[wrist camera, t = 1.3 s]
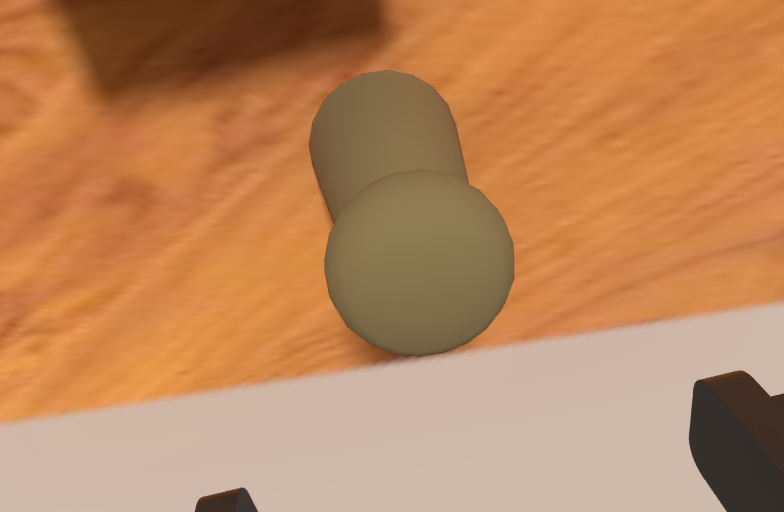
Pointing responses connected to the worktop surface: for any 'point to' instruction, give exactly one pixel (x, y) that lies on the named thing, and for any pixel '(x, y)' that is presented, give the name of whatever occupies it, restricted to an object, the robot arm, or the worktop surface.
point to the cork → (406, 219)
